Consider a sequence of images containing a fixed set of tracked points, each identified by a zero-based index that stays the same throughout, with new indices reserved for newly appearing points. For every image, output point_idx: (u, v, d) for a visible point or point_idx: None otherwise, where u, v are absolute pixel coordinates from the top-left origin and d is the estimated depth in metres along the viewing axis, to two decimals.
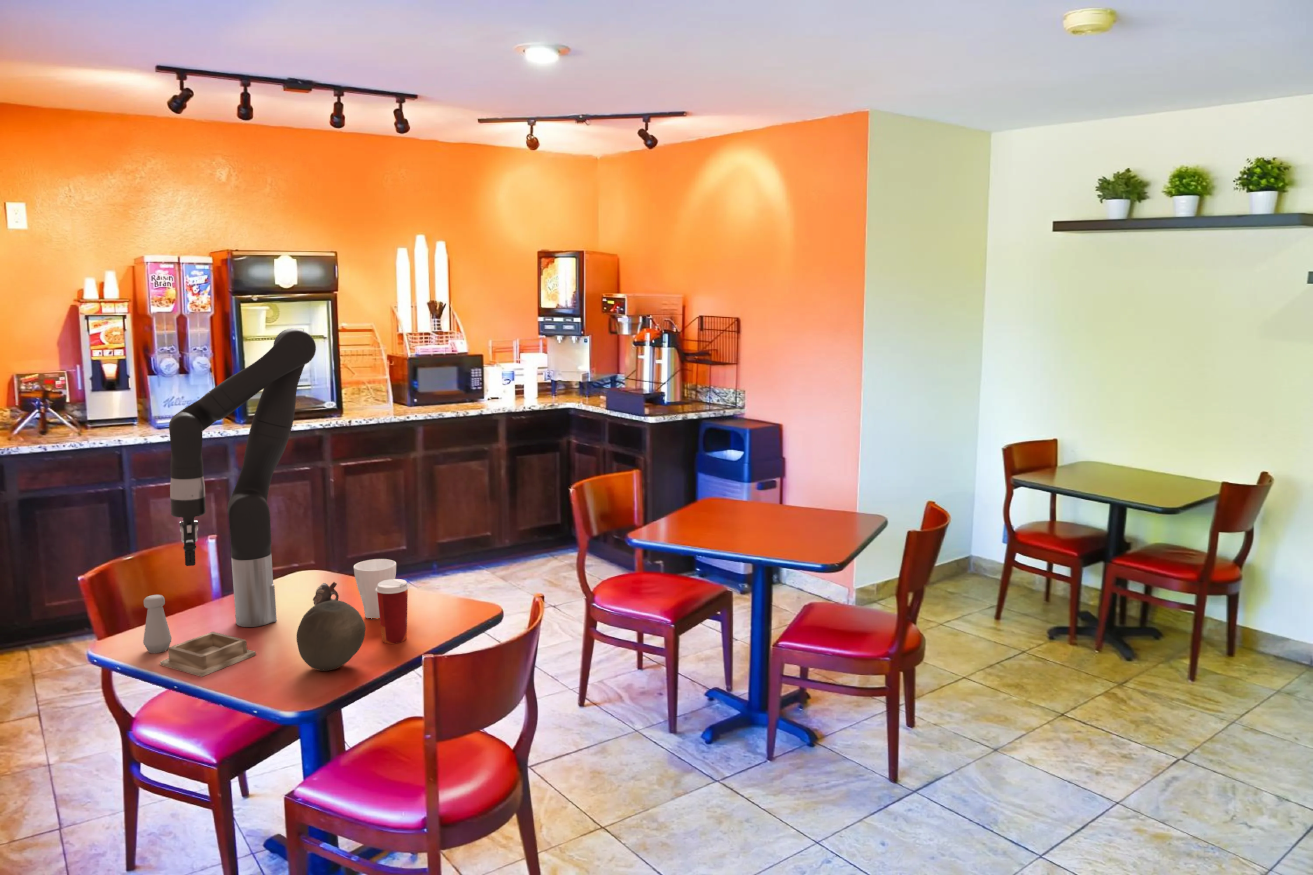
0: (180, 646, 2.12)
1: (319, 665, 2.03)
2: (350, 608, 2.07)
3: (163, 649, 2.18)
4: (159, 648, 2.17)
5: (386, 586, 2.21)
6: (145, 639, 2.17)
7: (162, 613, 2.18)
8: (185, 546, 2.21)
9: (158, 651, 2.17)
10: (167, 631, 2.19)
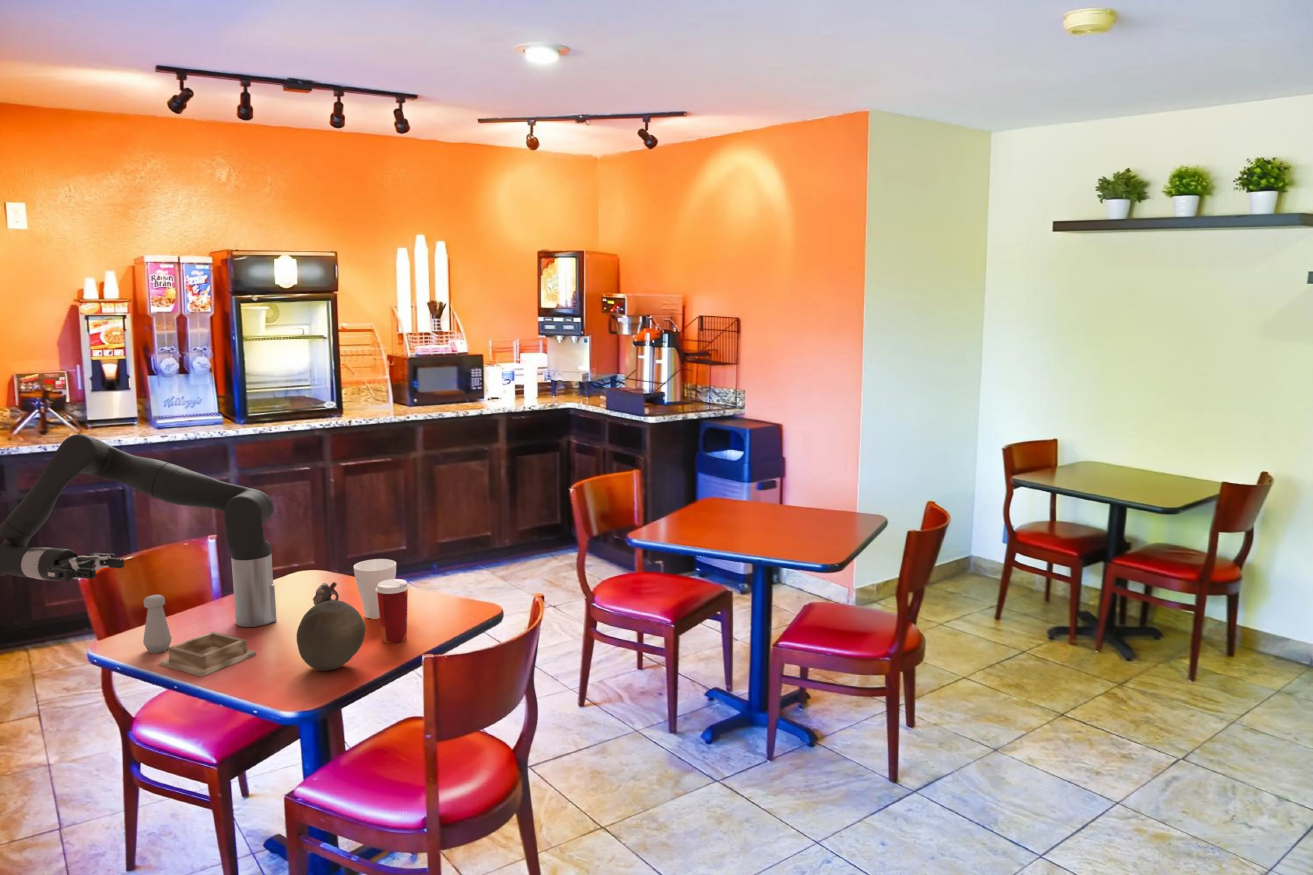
0: (180, 646, 2.12)
1: (319, 665, 2.03)
2: (350, 608, 2.07)
3: (163, 649, 2.18)
4: (159, 648, 2.17)
5: (386, 586, 2.21)
6: (145, 639, 2.17)
7: (162, 613, 2.18)
8: (65, 579, 2.13)
9: (158, 651, 2.17)
10: (167, 631, 2.19)
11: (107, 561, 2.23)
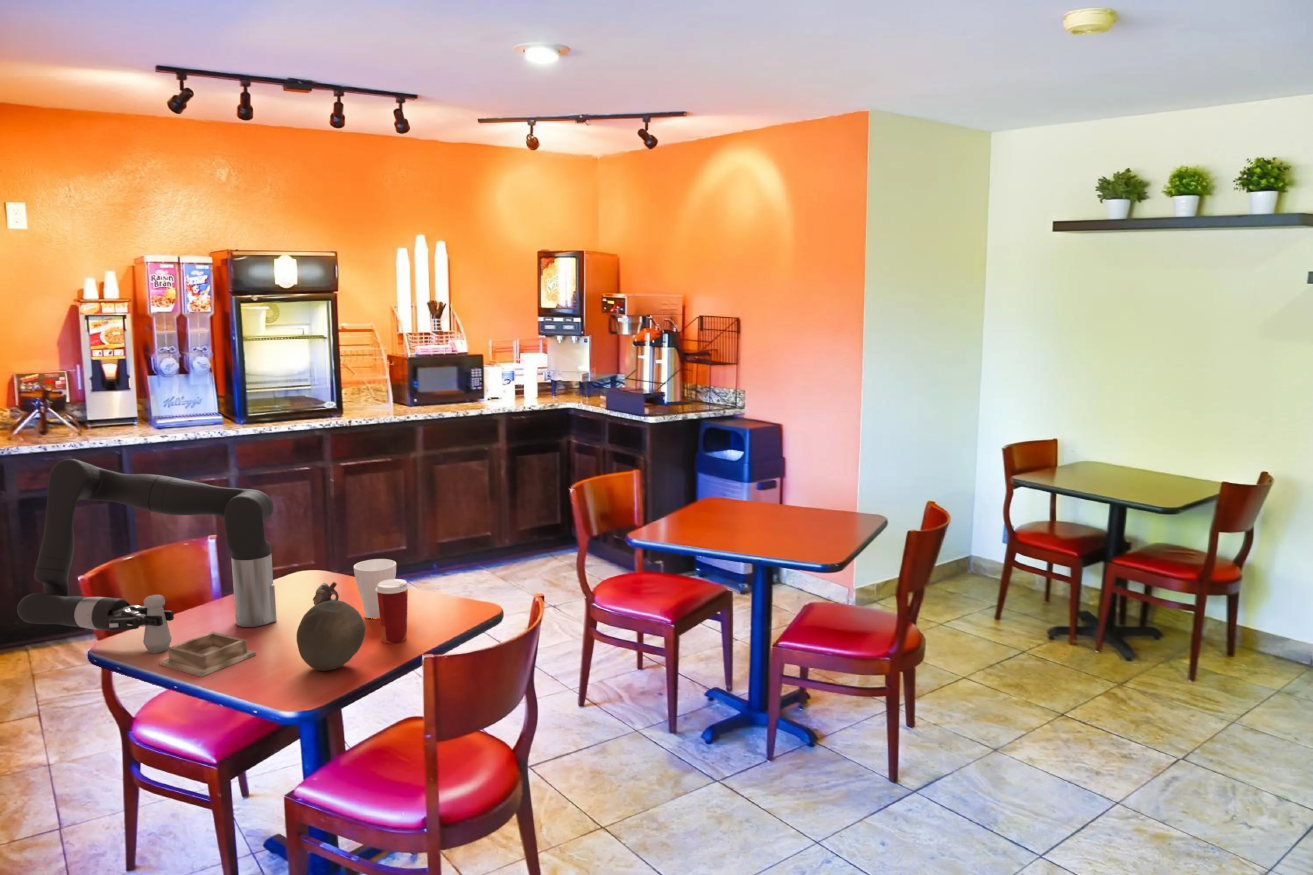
0: (180, 646, 2.12)
1: (319, 665, 2.03)
2: (350, 608, 2.07)
3: (163, 649, 2.18)
4: (160, 648, 2.17)
5: (386, 586, 2.21)
6: (145, 639, 2.17)
7: (162, 613, 2.18)
8: (133, 627, 2.14)
9: (158, 651, 2.17)
10: (167, 631, 2.19)
11: None
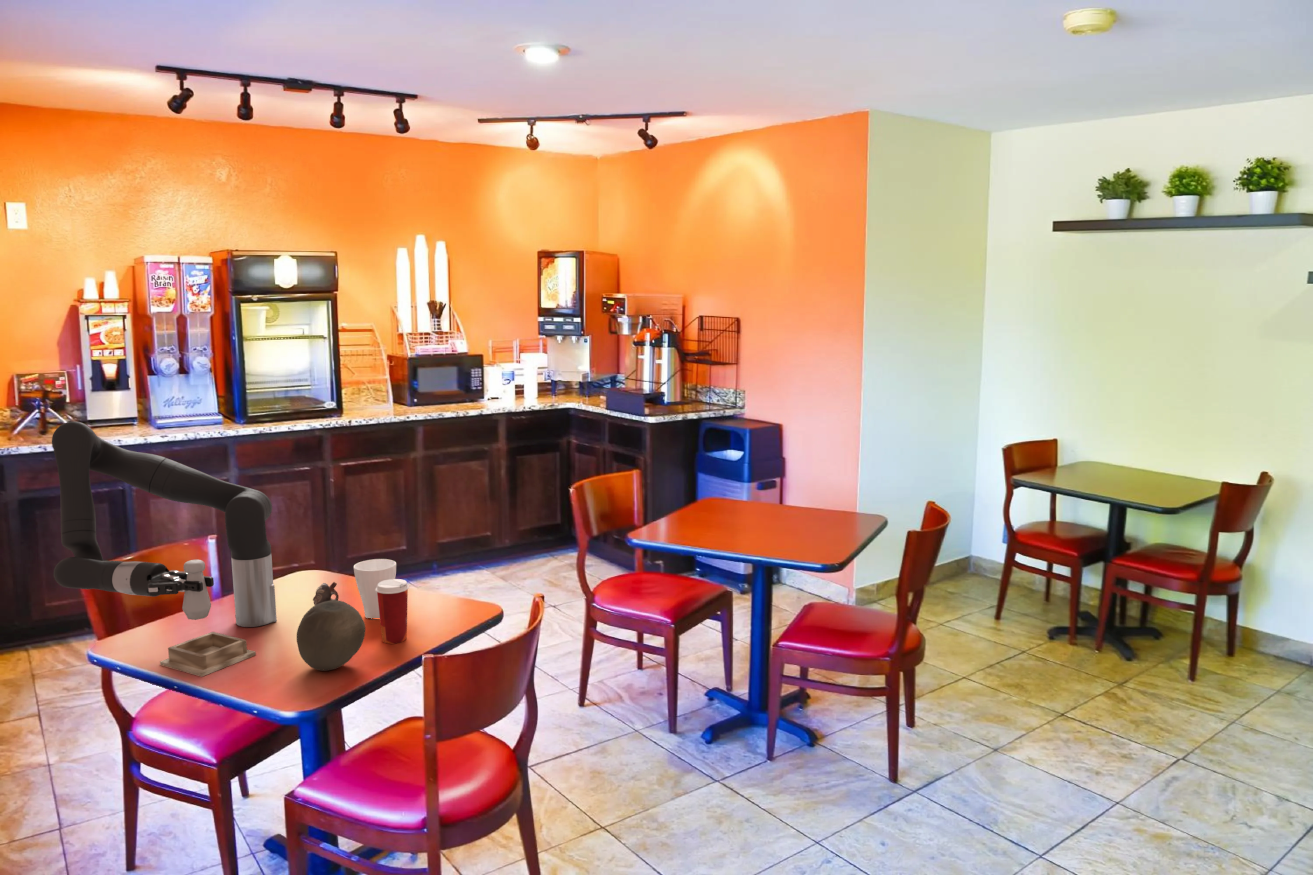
0: (180, 646, 2.12)
1: (319, 665, 2.03)
2: (350, 608, 2.07)
3: (203, 616, 2.11)
4: (199, 614, 2.10)
5: (386, 586, 2.21)
6: (184, 605, 2.10)
7: (202, 579, 2.11)
8: (173, 592, 2.08)
9: (197, 618, 2.11)
10: (207, 597, 2.12)
11: None
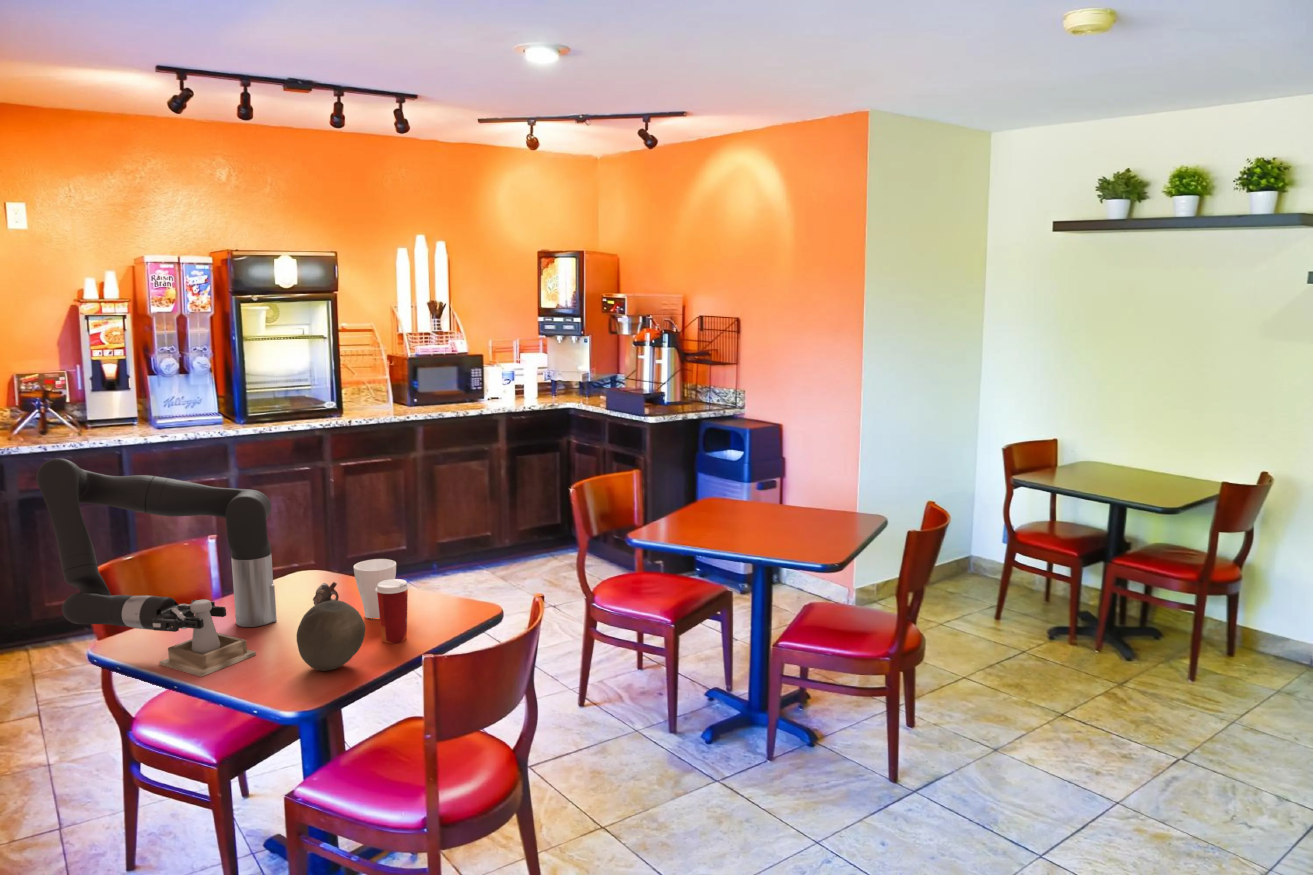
0: (180, 646, 2.12)
1: (319, 665, 2.03)
2: (350, 608, 2.07)
3: None
4: None
5: (386, 586, 2.21)
6: (193, 645, 2.11)
7: (209, 618, 2.12)
8: (172, 630, 2.06)
9: None
10: (215, 636, 2.13)
11: None
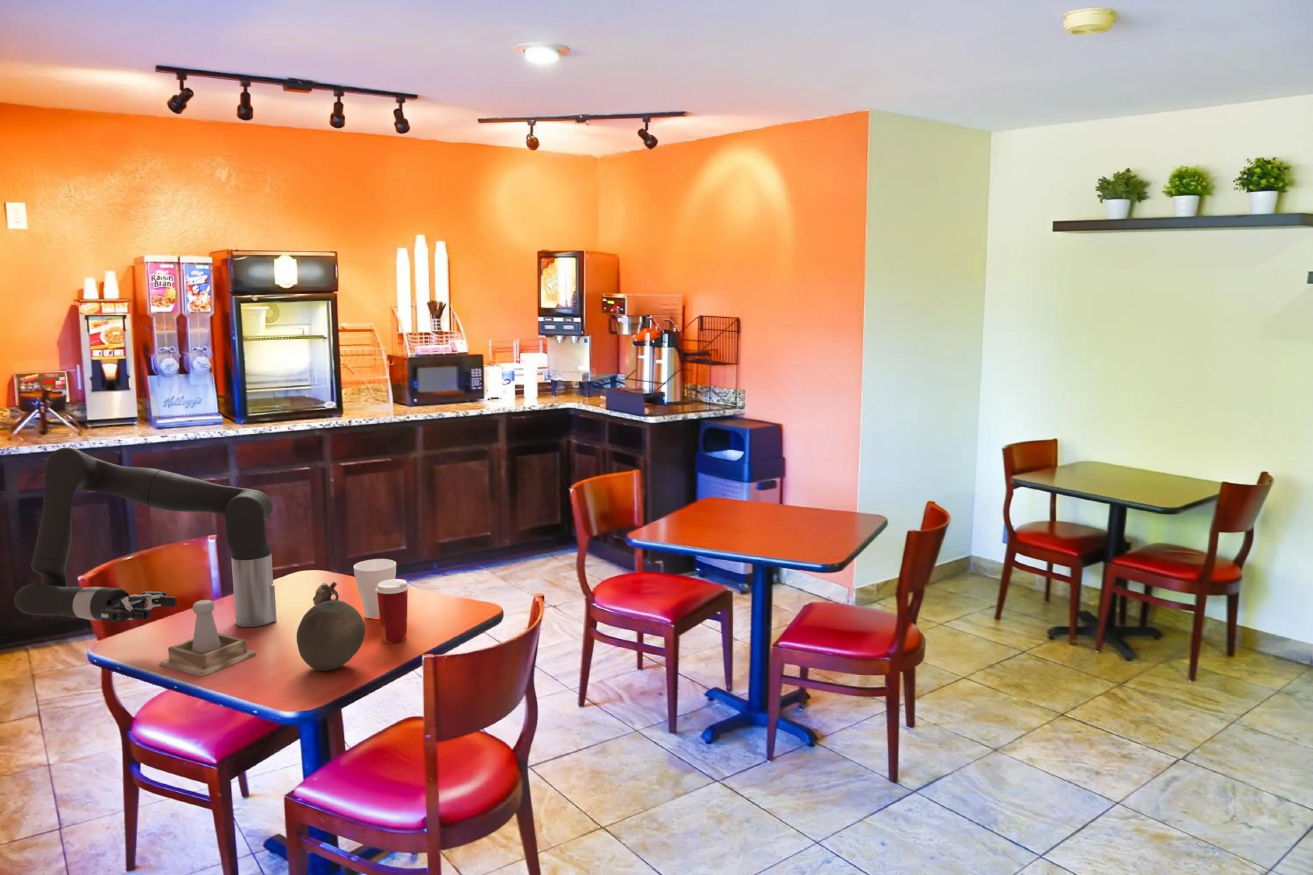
0: (180, 646, 2.12)
1: (319, 665, 2.03)
2: (350, 608, 2.07)
3: None
4: None
5: (386, 586, 2.21)
6: (194, 645, 2.11)
7: (211, 619, 2.12)
8: (119, 620, 2.08)
9: None
10: (216, 637, 2.13)
11: (159, 600, 2.19)
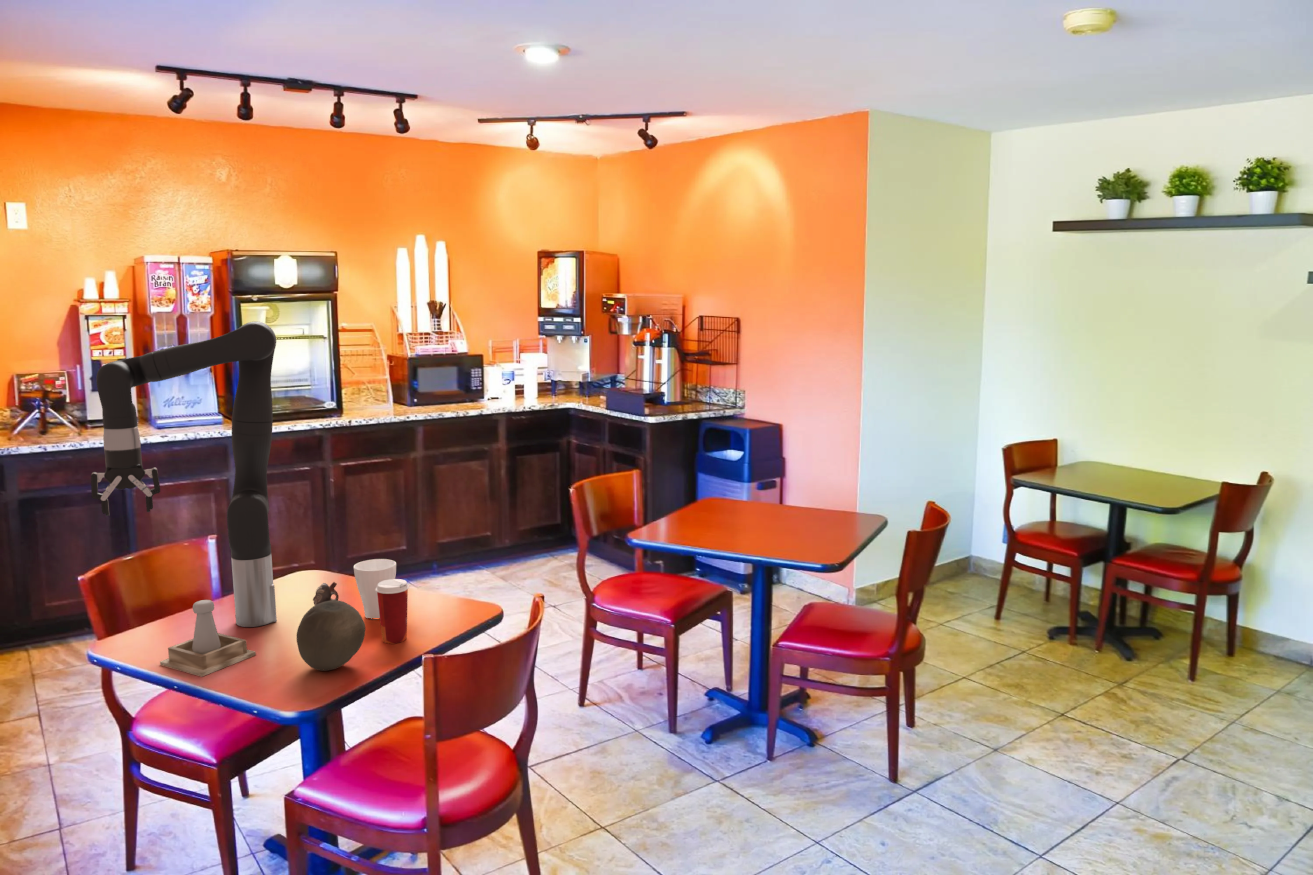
0: (180, 646, 2.12)
1: (319, 665, 2.03)
2: (350, 608, 2.07)
3: None
4: None
5: (386, 586, 2.21)
6: (194, 645, 2.11)
7: (211, 619, 2.12)
8: None
9: None
10: (216, 637, 2.13)
11: (146, 495, 2.26)
